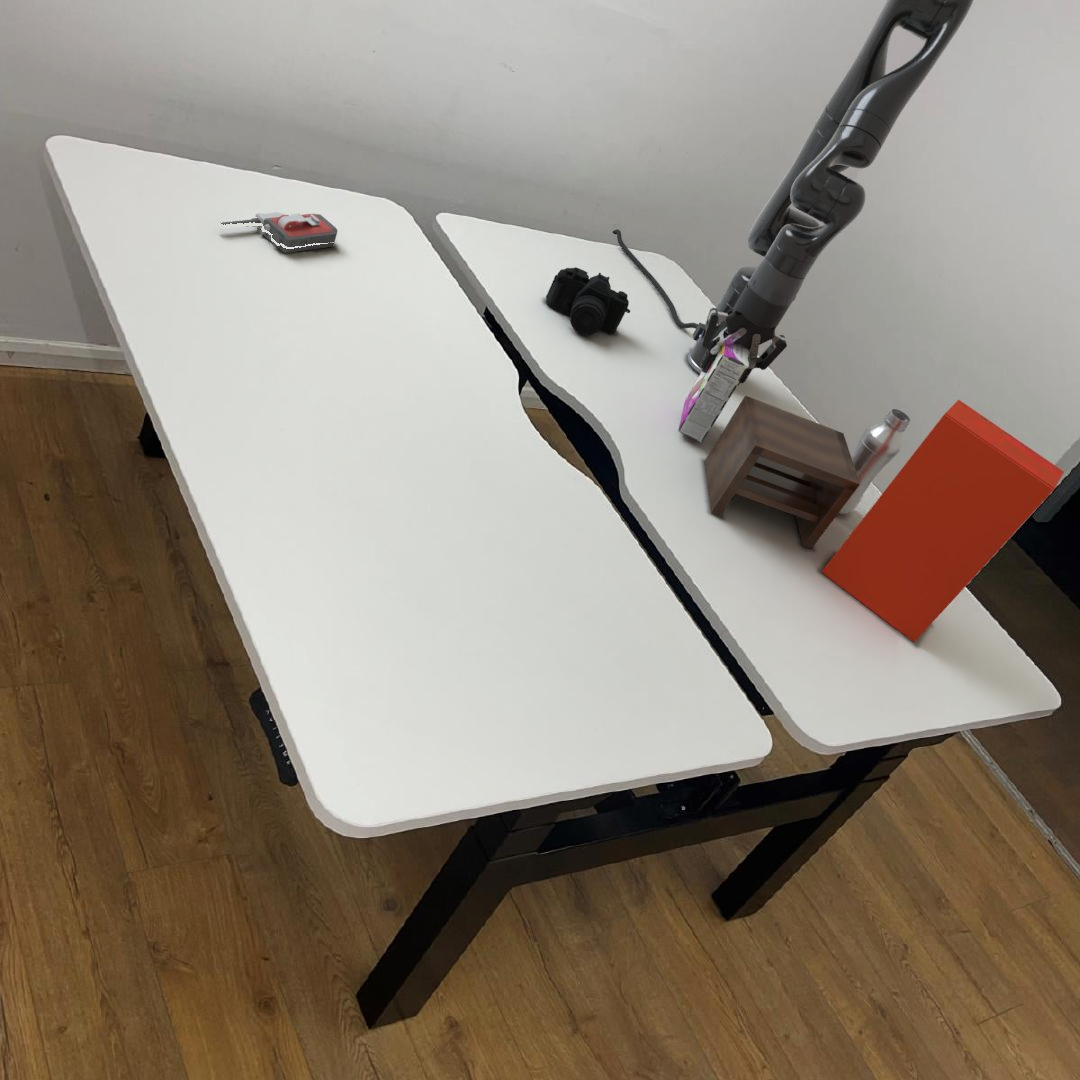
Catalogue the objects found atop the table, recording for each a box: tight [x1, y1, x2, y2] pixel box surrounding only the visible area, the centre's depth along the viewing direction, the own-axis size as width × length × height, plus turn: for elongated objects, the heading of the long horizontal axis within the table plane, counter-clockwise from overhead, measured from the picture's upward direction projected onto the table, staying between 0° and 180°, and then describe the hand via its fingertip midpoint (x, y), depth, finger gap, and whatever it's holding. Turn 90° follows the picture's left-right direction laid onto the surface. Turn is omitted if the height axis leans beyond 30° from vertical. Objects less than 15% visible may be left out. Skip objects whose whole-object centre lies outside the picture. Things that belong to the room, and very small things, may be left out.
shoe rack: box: [703, 395, 860, 549], centre depth 167 cm, size 14×18×14 cm
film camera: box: [545, 267, 631, 336], centre depth 191 cm, size 15×10×9 cm, turn 81°
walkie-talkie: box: [220, 211, 338, 254], centre depth 173 cm, size 9×4×20 cm
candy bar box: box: [677, 343, 750, 444], centre depth 176 cm, size 11×5×16 cm, turn 168°
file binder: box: [821, 399, 1065, 643], centre depth 155 cm, size 8×17×32 cm, turn 55°
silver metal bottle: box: [838, 408, 912, 515], centre depth 174 cm, size 6×7×20 cm
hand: (719, 375), depth 175 cm, fingers closed on candy bar box, 5 cm apart
